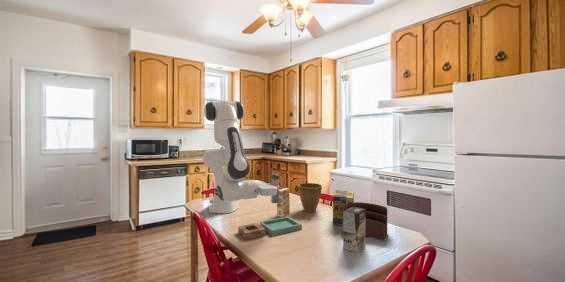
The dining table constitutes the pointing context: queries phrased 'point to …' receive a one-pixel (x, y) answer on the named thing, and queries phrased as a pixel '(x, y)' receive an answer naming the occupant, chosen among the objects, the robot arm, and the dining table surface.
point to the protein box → (341, 205)
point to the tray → (280, 225)
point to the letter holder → (373, 219)
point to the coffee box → (354, 228)
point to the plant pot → (310, 195)
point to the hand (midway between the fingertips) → (276, 186)
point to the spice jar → (274, 183)
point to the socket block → (251, 231)
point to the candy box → (283, 202)
